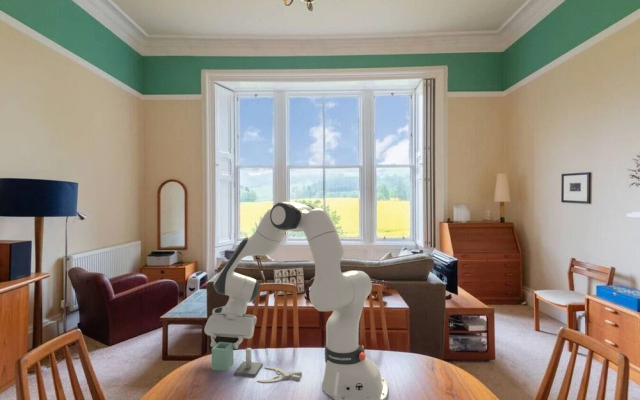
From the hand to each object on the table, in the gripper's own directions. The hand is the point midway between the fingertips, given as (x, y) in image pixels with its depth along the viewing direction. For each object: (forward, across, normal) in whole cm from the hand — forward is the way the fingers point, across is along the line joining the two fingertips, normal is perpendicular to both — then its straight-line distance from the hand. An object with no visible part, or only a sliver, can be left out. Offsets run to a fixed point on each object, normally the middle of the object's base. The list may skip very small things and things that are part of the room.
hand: (223, 347), depth 129 cm
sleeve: (+6, -1, -3) cm, 7 cm away
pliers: (+8, -25, -1) cm, 26 cm away
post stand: (+7, -12, -2) cm, 14 cm away
